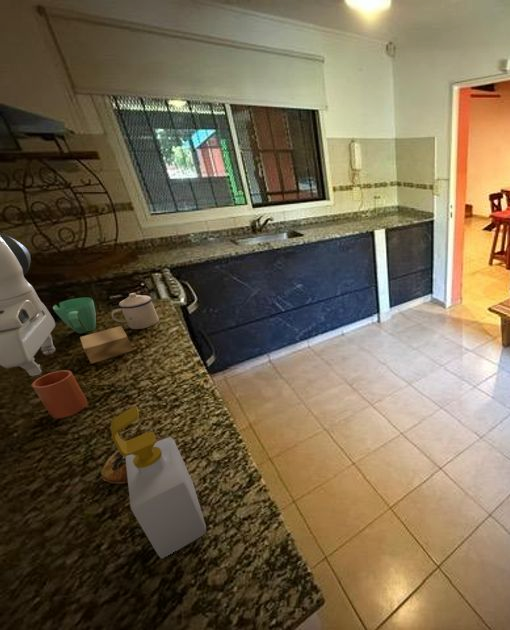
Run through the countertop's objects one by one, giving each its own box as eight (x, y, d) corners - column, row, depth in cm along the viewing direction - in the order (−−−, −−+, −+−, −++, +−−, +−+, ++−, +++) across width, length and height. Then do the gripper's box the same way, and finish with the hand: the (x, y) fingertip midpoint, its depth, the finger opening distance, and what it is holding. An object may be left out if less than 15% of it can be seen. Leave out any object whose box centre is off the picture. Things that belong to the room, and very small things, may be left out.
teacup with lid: (158, 315, 127) (147, 286, 122) (161, 324, 121) (149, 294, 116) (117, 325, 121) (104, 294, 115) (117, 335, 114) (103, 303, 109)
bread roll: (172, 468, 67) (159, 451, 65) (103, 501, 63) (86, 483, 60) (174, 433, 76) (162, 417, 73) (113, 460, 71) (99, 443, 69)
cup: (47, 422, 79) (27, 391, 75) (55, 405, 84) (37, 375, 80) (84, 411, 82) (67, 381, 78) (90, 396, 87) (74, 367, 83)
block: (91, 363, 100) (83, 349, 97) (86, 351, 106) (79, 337, 103) (133, 350, 106) (127, 336, 104) (127, 339, 112) (121, 325, 110)
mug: (67, 328, 118) (54, 302, 114) (104, 320, 124) (92, 295, 119) (64, 346, 108) (49, 317, 104) (104, 336, 114) (91, 309, 109)
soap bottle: (208, 533, 56) (160, 427, 46) (160, 562, 52) (95, 453, 42) (193, 483, 64) (150, 384, 54) (150, 505, 61) (94, 402, 50)
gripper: (8, 294, 77) (39, 346, 83) (-36, 331, 62) (6, 392, 68) (46, 288, 80) (74, 339, 86) (13, 323, 64) (49, 381, 71)
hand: (44, 362), depth 77 cm, fingers open, 8 cm apart
